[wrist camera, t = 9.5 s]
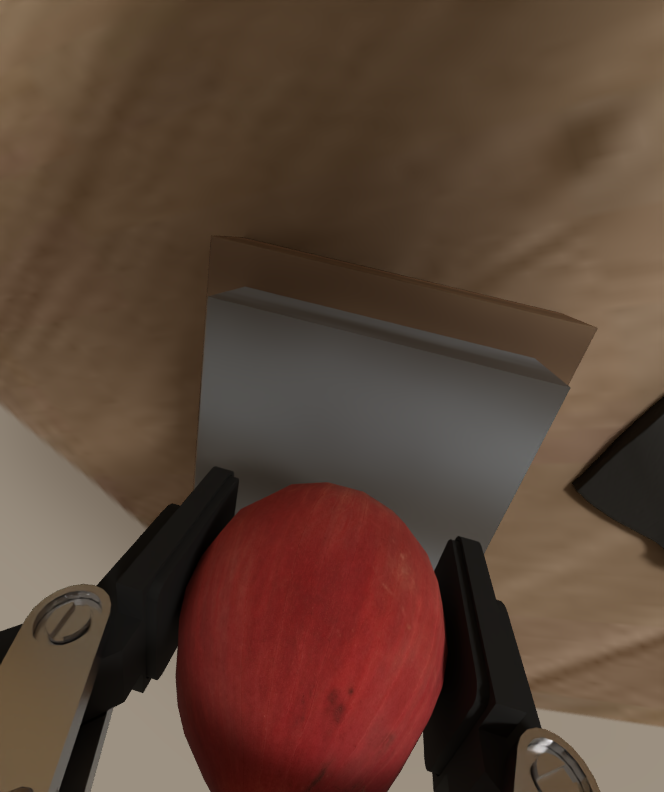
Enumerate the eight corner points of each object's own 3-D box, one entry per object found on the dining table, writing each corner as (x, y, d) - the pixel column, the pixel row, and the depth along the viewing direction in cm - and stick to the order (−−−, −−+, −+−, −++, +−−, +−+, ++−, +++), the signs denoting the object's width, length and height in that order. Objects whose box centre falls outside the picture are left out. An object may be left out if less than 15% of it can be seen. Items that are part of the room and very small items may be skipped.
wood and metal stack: (242, 237, 16) (163, 232, 11) (561, 313, 15) (654, 351, 10) (217, 487, 22) (156, 568, 16) (448, 554, 21) (466, 664, 15)
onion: (465, 543, 11) (581, 1063, 4) (318, 594, 13) (222, 1009, 6) (367, 394, 10) (285, 778, 3) (219, 476, 12) (-54, 825, 5)
